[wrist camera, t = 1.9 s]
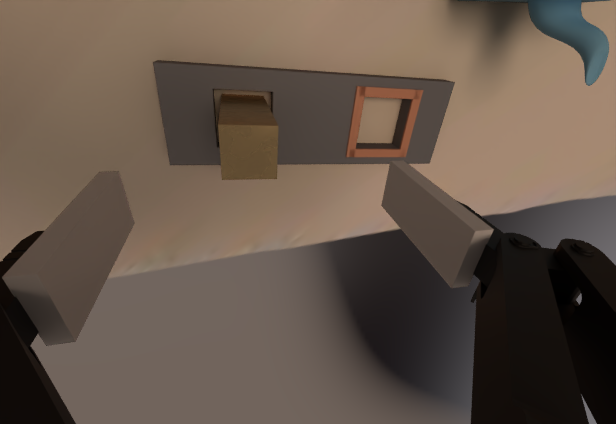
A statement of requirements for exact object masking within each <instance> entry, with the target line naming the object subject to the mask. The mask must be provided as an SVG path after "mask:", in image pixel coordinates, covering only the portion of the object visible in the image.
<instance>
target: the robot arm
mask: <svg viewBox="0 0 616 424" xmlns="http://www.w3.org/2000/svg"><path fill="white" fill-rule="evenodd" d="M381 206H382V207H383V208H384V209H385V210H386V212H387V213H388V214H389V215H390V216H391V217H392V219H393V220H394V221H395V222H396V223H397V224H398V226H399V227H400V228H401V229H402V230H403V232H404V233H405V234H406V235H407V236H408V237H409V238H410V240H411V241H412V242H413V243H414V244H415V245H416V247H417V248H418V249H419V250H420V252H421V253H422V254H423V255H424V256H425V257H426V259H427V260H428V261H429V262H430V263H431V264H432V266H433V267H434V268H435V269H436V270H437V271H438V273H439V274H440V275H441V276H442V277H443V278H444V279H445V281H446V282H447V283H448V284H449V286H450V287H451V288H457V287H464V286H469V283H470V281H471V279H472V276H473V275H475V276H476V277H477V278H478V279H479V280H480V282H479V285H478V287H477V289H476V291H475V293H474V295H473V297H472V299H471V302H473V303H474V301H475V299H476V319H475V320H476V321H475V343H474V366H473V387H472V388H473V389H472V410H471V424H589V422H588V419H587V415H586V411H585V407H584V404H583V400H582V396H583V398H584V400H585V402H586V403H587V406H588V408H589V409H590V411H591V413H592V415H593V417H594V419H595V420H596V423H597V424H616V265H614V263H612V261H611V260H610V259H609V258H608V257H607V256H606V255H605V254H604V253H603V252H601V251H600V250H599V249H597V248H596V247H594V246H592V245H591V244H589V243H587V242H586V243H585V242H584V241H581V240H575V239H563V240H561V242H560V243H559V245H558V247H557V248H556V249H549V248H541V246H540V245H539V244H538V243H537V242H536V241H534V240H532V239H531V238H529V237H526V236H523V235H521V234H516V233H505V234H504V233H503V232H501V231H500V230H499V229H497V228H496V227H495V226H493V225H492V224H491V223H489V222H488V221H487V220H485V219H484V218H482V217H481V216H480V215H479V214H477V213H475V211H473V210H472V209H471V208H469V207H468V206H467V205H465V204H462V203H460V202H458V201H456V200H455V199H453V198H452V197H451V196H449V195H448V194H447V193H445V192H444V191H443V190H442V189H440V188H439V187H438V186H436V185H435V184H434V183H432V182H431V181H430V180H428V179H427V178H426V177H424V176H423V175H422V174H421V173H419V172H418V171H417V170H415V169H414V168H413V167H411V166H410V165H409V164H407V163H406V162H405V161H404V160H403V161H390V166H389V171H388V176H387V181H386V186H385V191H384V196H383V200H382V205H381ZM133 225H134V220H133V216H132V213H131V210H130V207H129V203H128V200H127V197H126V193H125V190H124V187H123V183H122V180H121V177H120V173H119V171H110V172H99V173H98V174H97V175H96V176H95V177H94V178H93V179H92V180H91V182H90V183H89V184H88V185H87V186H86V187H85V188H84V189H83V190H82V191H81V192H80V193H79V194H78V196H77V197H76V198H75V199H74V200H73V201H72V202H71V203H70V204H69V205H68V206H67V207H66V209H65V210H64V211H63V212H62V213H61V214H60V215H59V216H58V217H57V218H56V219H55V220H54V222H53V223H52V224H51V225H50V226H49V227H48V228H47V229H46V230H45V231H37V232H35V233H33V234H32V235H30V236H28V237H27V238H25V239H23V240H21V241H20V242H19V243H18V244H17V245H16V246H15V247H14V248H13V249H12V251H11V253H9V254H8V255H7V256H6V257H5V258H4V259H3V261H1V262H0V424H76V423H75V421H74V420H73V418H72V416H71V414H70V413H69V411H68V409H67V407H66V406H65V404H64V402H63V400H62V399H61V397H60V395H59V393H58V392H57V390H56V388H55V387H54V385H53V383H52V381H51V380H50V378H49V376H48V374H47V373H46V371H45V369H44V367H43V366H42V364H41V362H40V361H39V359H38V357H37V355H36V354H35V352H34V350H33V349H32V347H30V345H31V343H32V342H33V340H34V339H35V337H36V336H37V334H39V335H40V337H41V338H42V340H43V342H44V343H45V345H46V346H48V345H55V344H63V343H70V342H75V341H76V340H77V338H78V336H79V333H80V332H81V330H82V327H83V326H84V323H85V322H86V319H87V317H88V315H89V313H90V311H91V309H92V307H93V305H94V303H95V301H96V299H97V297H98V295H99V293H100V291H101V289H102V287H103V285H104V283H105V281H106V279H107V277H108V275H109V273H110V271H111V269H112V267H113V265H114V263H115V261H116V259H117V257H118V255H119V253H120V251H121V249H122V247H123V245H124V243H125V241H126V239H127V237H128V235H129V233H130V231H131V229H132V227H133ZM580 293H581V294H582V301H581V303H580V305H579V304H578V302H577V301H576V299H577V297H578V296H579V295H580ZM581 394H582V396H581Z"/></svg>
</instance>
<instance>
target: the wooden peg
mask: <svg viewBox="0 0 616 424" xmlns="http://www.w3.org/2000/svg"><path fill="white" fill-rule="evenodd" d="M218 131H219V145H220V158H221V172H222V180H239V179H277V156H278V124H277V122H276V120H275V118H274V116H273V114H272V112H271V110H270V108H269V106H268V104H267V102H266V100H265V98H264V96H259V95H237V94H222V96H221V104H220V113H219V121H218Z"/></svg>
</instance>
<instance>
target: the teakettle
mask: <svg viewBox="0 0 616 424" xmlns="http://www.w3.org/2000/svg"><path fill="white" fill-rule="evenodd" d="M458 1H494V2H528V9H529V14H530V17H531V20H532V22H533V23H534V25H535V26H536V28H537V29H539V30H540V31H541V32H542V33H544V34H546V35H548V36H550V37H552V38H554V39H557V40H559V41H561V42H564V43H566V44H568V45H569V46H571V47H573V48H574V49H575V50H576V51H577V52H578V53H579V54H580V55H581V57H582V60H583V62H584V68H585V82H586V85H588V86H590V85H592V84H593V83H594V82H595V81H596V80H597V78H598V77H599V75H600V74H601V72H602V70H603V68H604V66H605V63H606V60H607V57H608V53H609V43H608V39H607V37H606V35H605V34H604V32H603V31H601V30H600V29H599V28H597V27H596V26H594V25H592V24H590V23H588V22H587V21H586V20H585V19H584V18H583V17H582V14H581V2H595V1H609V0H458Z"/></svg>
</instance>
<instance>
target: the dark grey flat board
mask: <svg viewBox="0 0 616 424" xmlns="http://www.w3.org/2000/svg"><path fill="white" fill-rule="evenodd" d="M153 65H154V71H155V77H156V83H157V89H158V95H159V101H160V107H161V113H162V119H163V125H164V131H165V137H166V143H167V149H168V156H169V162H170V165H221V158H220V145H219V142H217V128H216V115H215V102H214V89H230V90H250V91H270V92H271V112H272V114H273V116H274V118H275V120H276V122H277V124H278V156H277V164H390V161H403V160H404V161H405V162H406V163H407V164H424V163H430V160H431V157H432V154H433V151H434V148H435V144H436V141H437V138H438V135H439V132H440V128H441V125H442V122H443V119H444V115H445V112H446V109H447V106H448V103H449V99H450V96H451V93H452V90H453V87H454V83H455V82H451V81H447V80H439V79H425V78H410V77H395V76H381V75H366V74H351V73H337V72H322V71H308V70H293V69H278V68H264V67H249V66H234V65H220V64H205V63H191V62H176V61H161V60H157V61H155V62H153ZM364 97H380V98H400V99H402V103H401V108H400V112H399V116H398V120H397V125H396V129H395V133H394V138H393V142H392V144H384V143H357V138H358V132H359V126H360V120H361V114H362V108H363V102H364Z"/></svg>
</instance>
